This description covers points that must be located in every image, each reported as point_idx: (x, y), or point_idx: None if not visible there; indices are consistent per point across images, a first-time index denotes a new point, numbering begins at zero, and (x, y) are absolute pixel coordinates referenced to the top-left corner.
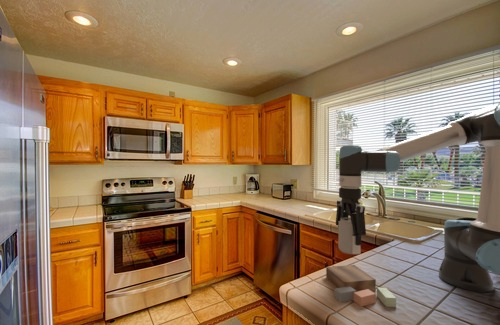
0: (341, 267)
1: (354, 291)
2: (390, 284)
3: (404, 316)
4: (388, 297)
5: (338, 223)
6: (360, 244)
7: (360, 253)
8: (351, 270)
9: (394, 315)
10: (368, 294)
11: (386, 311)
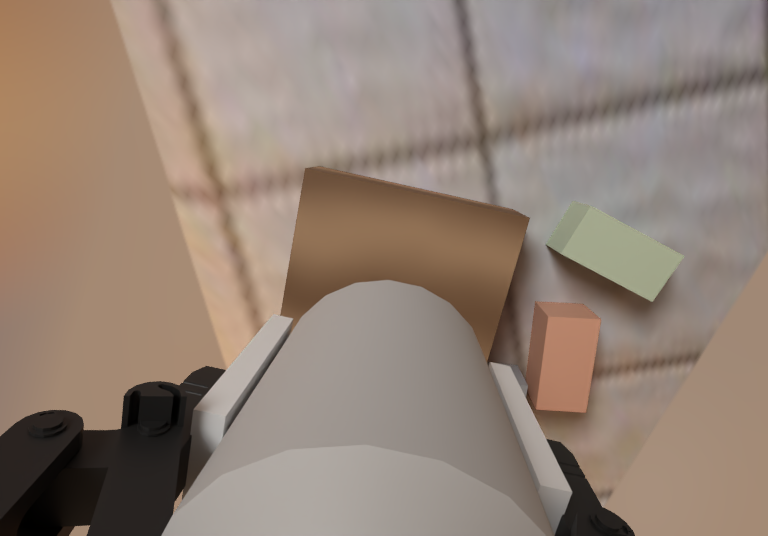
0: (309, 287)
1: (525, 392)
2: (501, 45)
3: (718, 278)
4: (658, 288)
5: (64, 518)
6: (565, 454)
7: (509, 367)
8: (369, 260)
9: (688, 313)
10: (587, 360)
11: (652, 319)
